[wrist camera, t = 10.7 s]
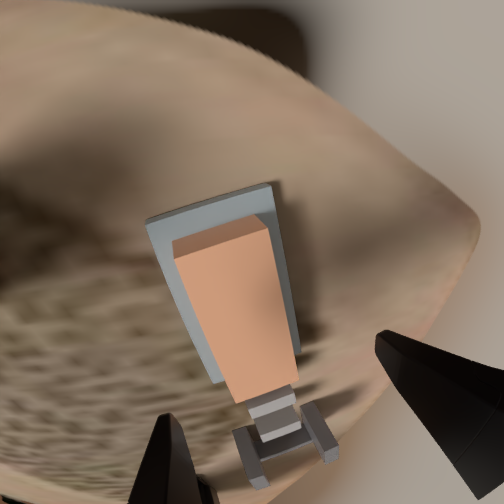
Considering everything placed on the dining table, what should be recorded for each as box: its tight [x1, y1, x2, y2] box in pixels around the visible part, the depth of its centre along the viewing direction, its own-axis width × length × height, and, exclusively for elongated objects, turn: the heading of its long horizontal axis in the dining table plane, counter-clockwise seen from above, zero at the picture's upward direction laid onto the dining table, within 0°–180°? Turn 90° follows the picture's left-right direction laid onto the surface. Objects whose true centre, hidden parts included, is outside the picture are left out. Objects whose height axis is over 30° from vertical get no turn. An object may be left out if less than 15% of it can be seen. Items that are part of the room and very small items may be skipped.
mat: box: [145, 183, 301, 384], centre depth 16 cm, size 6×11×1 cm, turn 13°
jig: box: [232, 384, 339, 490], centre depth 20 cm, size 7×10×5 cm
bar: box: [172, 214, 299, 403], centre depth 15 cm, size 4×10×2 cm, turn 13°
